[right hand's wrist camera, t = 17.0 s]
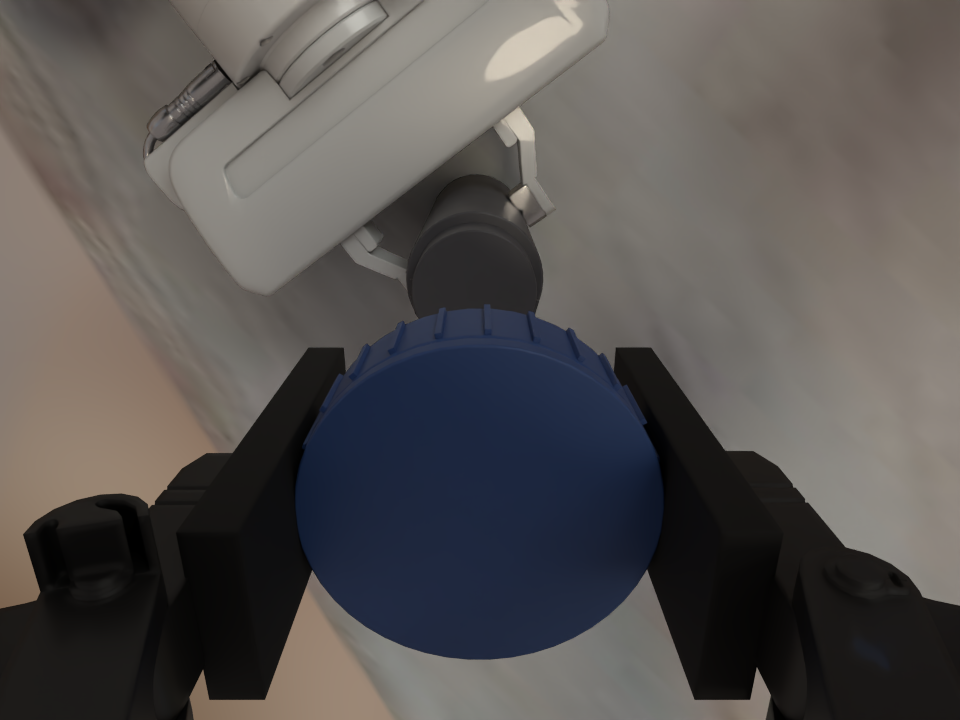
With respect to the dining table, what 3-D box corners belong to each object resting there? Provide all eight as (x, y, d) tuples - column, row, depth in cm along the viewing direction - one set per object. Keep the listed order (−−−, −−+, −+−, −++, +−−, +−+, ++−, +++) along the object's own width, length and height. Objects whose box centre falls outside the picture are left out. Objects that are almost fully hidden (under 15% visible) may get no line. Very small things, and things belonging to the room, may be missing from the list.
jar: (422, 251, 37) (386, 340, 23) (444, 163, 35) (420, 200, 21) (506, 274, 38) (522, 377, 23) (532, 189, 36) (567, 242, 22)
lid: (698, 497, 12) (735, 563, 11) (439, 633, 14) (433, 713, 12) (532, 234, 11) (542, 259, 9) (250, 418, 12) (208, 473, 10)
